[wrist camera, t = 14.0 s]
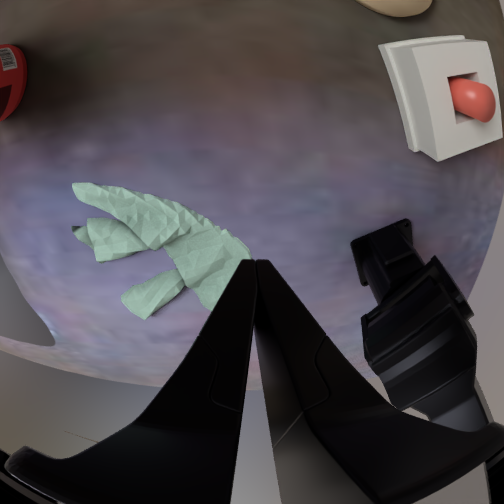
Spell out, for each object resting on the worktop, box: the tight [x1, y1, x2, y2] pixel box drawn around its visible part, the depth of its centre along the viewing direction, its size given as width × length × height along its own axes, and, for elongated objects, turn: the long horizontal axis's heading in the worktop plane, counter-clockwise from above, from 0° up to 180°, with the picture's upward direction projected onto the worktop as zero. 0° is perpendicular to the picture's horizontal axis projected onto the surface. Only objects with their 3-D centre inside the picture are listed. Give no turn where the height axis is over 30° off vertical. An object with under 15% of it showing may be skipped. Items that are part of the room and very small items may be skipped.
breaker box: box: [378, 35, 502, 162], centre depth 13 cm, size 9×9×4 cm
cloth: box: [71, 183, 252, 320], centre depth 25 cm, size 20×22×2 cm
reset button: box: [447, 76, 496, 123], centre depth 12 cm, size 3×3×4 cm
